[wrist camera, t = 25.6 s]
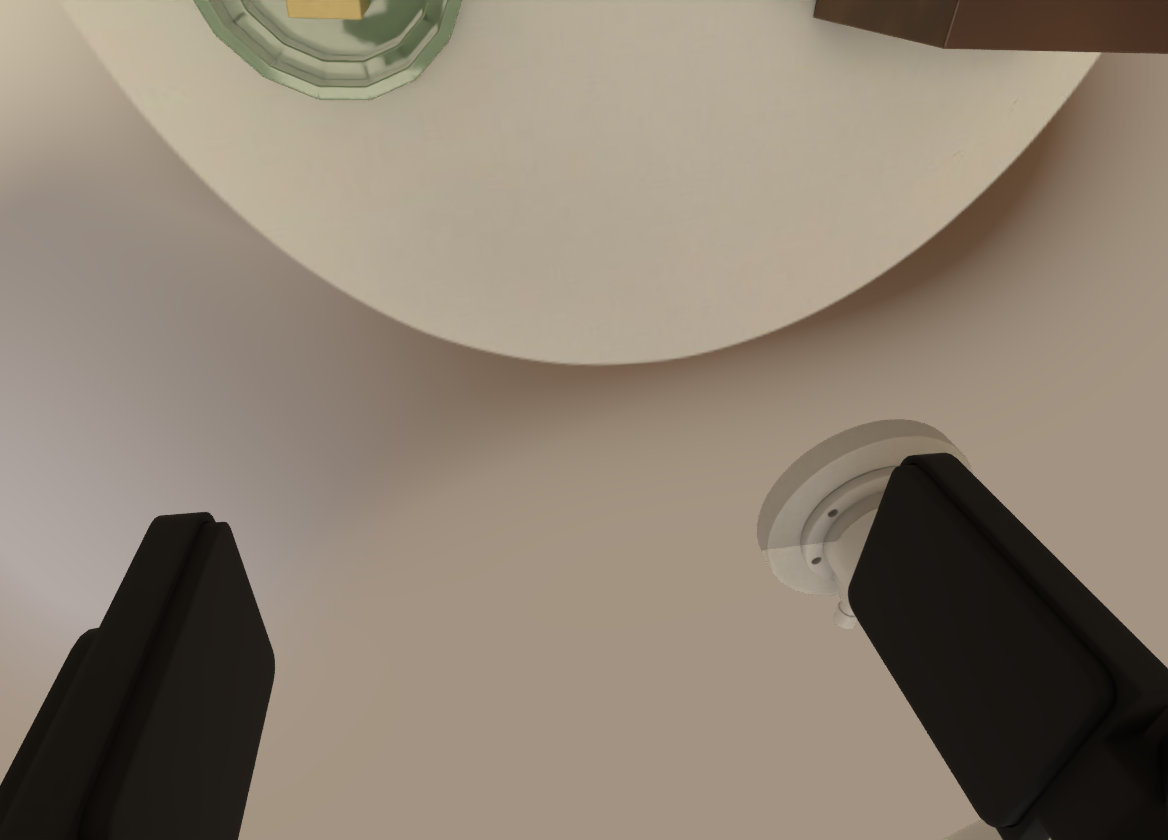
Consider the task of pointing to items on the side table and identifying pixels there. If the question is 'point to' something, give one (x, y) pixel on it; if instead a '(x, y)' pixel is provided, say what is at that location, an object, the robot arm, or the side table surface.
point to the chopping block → (1012, 23)
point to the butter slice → (327, 9)
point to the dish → (335, 44)
